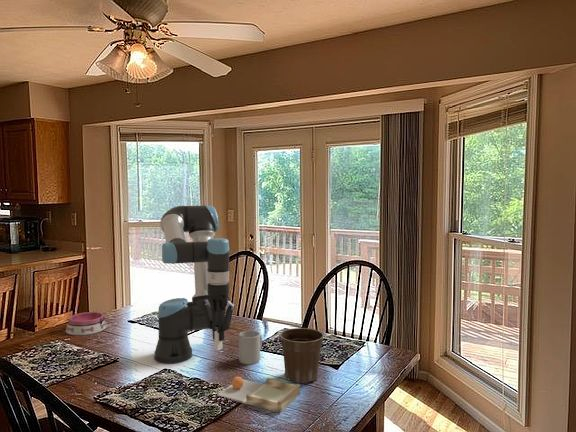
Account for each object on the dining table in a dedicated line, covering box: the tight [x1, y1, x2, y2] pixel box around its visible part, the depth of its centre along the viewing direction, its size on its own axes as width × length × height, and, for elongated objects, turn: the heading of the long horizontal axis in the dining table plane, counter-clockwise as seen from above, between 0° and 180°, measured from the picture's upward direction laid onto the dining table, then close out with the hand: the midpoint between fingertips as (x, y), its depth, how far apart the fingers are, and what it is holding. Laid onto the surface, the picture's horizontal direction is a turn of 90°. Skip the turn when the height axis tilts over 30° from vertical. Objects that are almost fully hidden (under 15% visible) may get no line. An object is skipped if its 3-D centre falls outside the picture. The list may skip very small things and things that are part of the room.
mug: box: [238, 330, 263, 365], centre depth 182 cm, size 12×8×11 cm
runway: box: [216, 378, 301, 414], centre depth 151 cm, size 24×14×1 cm, turn 63°
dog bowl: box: [65, 311, 108, 337], centre depth 217 cm, size 18×19×7 cm
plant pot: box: [279, 327, 325, 384], centre depth 165 cm, size 16×16×16 cm
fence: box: [246, 378, 301, 414], centre depth 148 cm, size 12×14×4 cm
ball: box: [231, 376, 243, 389], centre depth 154 cm, size 4×4×4 cm
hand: (218, 349), depth 157 cm, fingers closed
